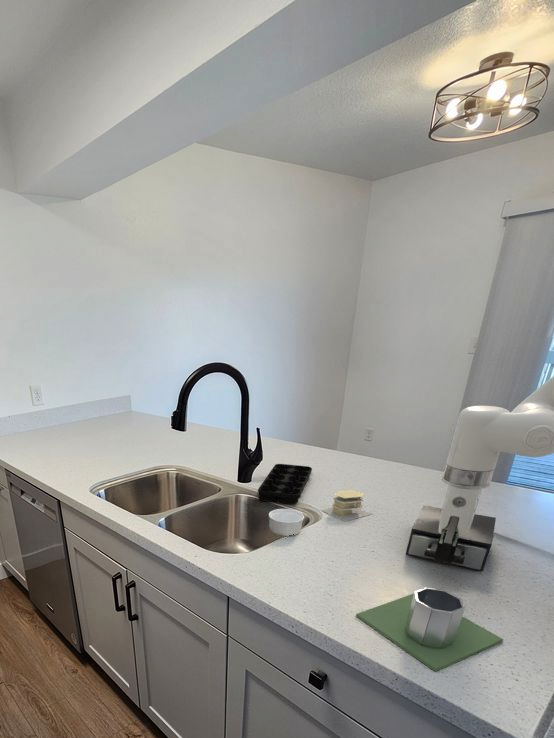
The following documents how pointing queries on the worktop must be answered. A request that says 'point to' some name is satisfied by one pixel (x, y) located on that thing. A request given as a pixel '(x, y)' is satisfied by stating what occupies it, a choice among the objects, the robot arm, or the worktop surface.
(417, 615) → the cup
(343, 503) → the stacked layers on plate
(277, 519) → the ramekin
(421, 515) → the box
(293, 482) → the egg carton
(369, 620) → the mat
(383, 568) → the worktop surface
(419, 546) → the drawer
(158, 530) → the worktop surface
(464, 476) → the robot arm
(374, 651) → the worktop surface
